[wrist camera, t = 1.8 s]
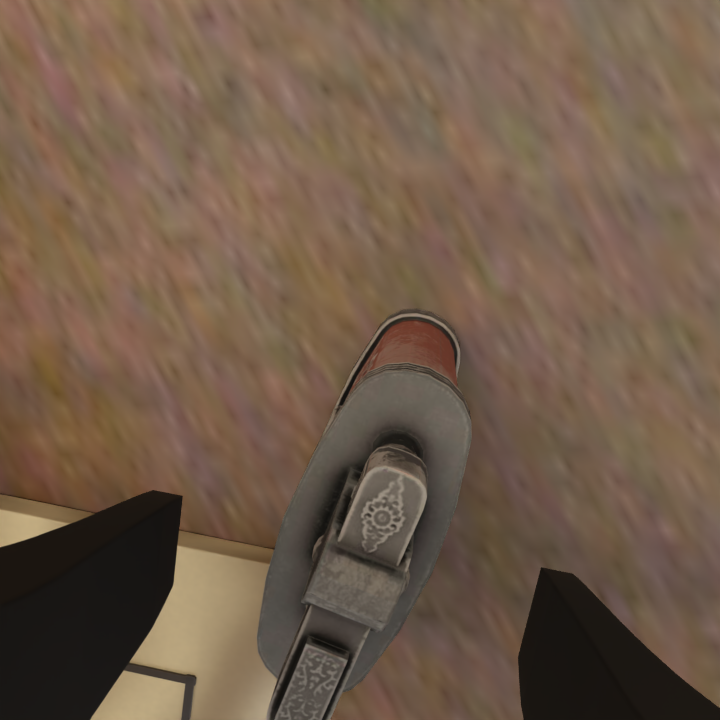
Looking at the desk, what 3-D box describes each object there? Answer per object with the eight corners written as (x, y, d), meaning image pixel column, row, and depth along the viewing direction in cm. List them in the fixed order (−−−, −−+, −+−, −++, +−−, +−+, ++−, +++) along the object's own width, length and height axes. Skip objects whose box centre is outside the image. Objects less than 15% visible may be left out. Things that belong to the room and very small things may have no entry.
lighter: (379, 291, 21) (330, 378, 11) (483, 332, 21) (524, 454, 11) (292, 514, 23) (189, 749, 13) (387, 552, 23) (351, 815, 13)
